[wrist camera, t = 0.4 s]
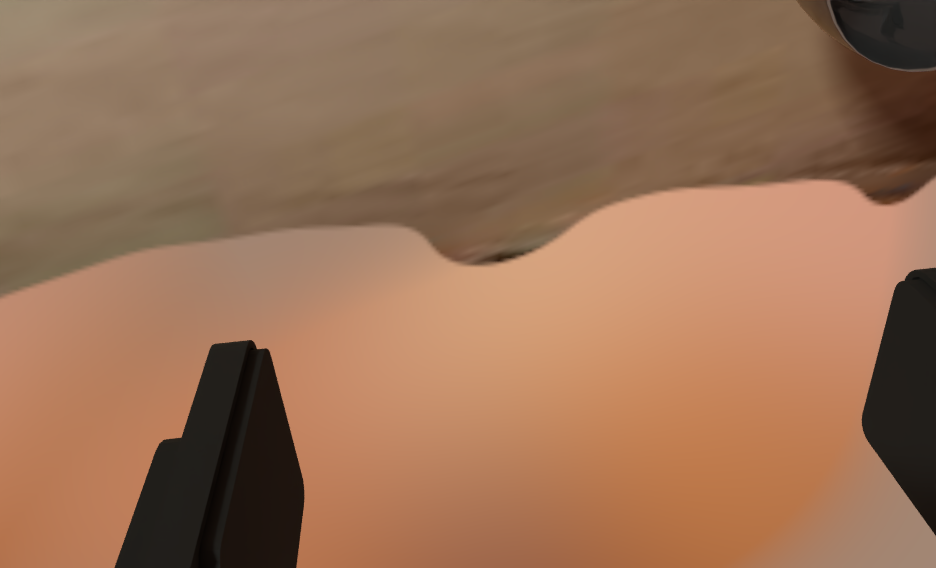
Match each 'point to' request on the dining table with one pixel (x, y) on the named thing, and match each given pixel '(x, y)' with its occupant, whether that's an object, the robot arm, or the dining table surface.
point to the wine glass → (881, 29)
